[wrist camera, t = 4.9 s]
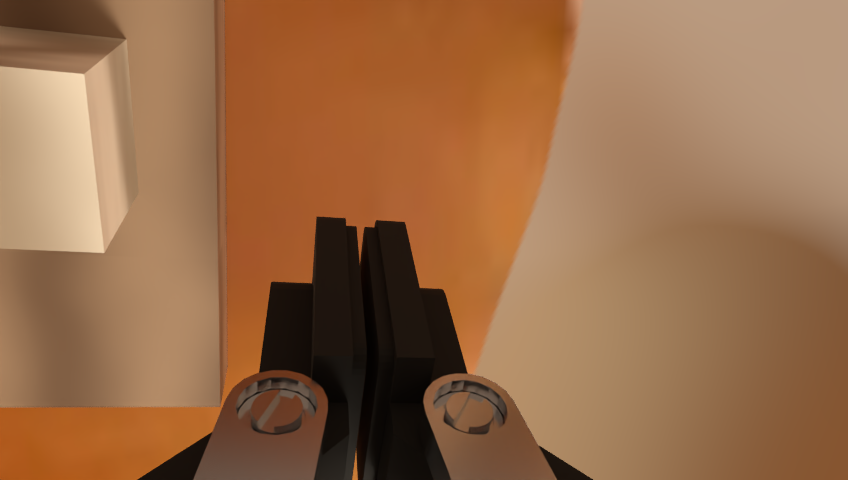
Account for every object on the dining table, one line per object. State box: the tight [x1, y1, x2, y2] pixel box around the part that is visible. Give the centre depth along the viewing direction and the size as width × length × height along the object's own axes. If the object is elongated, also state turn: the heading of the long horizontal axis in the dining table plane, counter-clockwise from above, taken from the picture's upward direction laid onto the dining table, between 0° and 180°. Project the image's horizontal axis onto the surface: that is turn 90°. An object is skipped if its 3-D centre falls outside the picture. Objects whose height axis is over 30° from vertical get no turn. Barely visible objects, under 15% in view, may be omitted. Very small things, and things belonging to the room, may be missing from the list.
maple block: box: [0, 26, 139, 253], centre depth 18 cm, size 5×5×4 cm
